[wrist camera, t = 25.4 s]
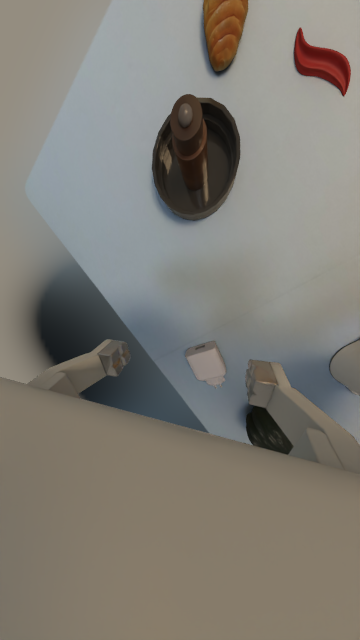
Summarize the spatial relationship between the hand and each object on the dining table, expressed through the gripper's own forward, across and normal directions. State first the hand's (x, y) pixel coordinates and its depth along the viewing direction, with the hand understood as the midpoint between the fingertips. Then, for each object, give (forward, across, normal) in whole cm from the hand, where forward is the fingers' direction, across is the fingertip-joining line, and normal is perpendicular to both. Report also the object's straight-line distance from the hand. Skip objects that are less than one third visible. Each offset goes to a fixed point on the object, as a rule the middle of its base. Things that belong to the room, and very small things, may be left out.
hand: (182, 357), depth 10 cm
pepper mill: (+34, +5, -19) cm, 39 cm away
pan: (+34, +5, -19) cm, 40 cm away
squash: (+28, -21, +46) cm, 57 cm away
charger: (+29, -1, +28) cm, 40 cm away
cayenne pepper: (+38, -14, -31) cm, 51 cm away
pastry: (+38, +1, -38) cm, 53 cm away
